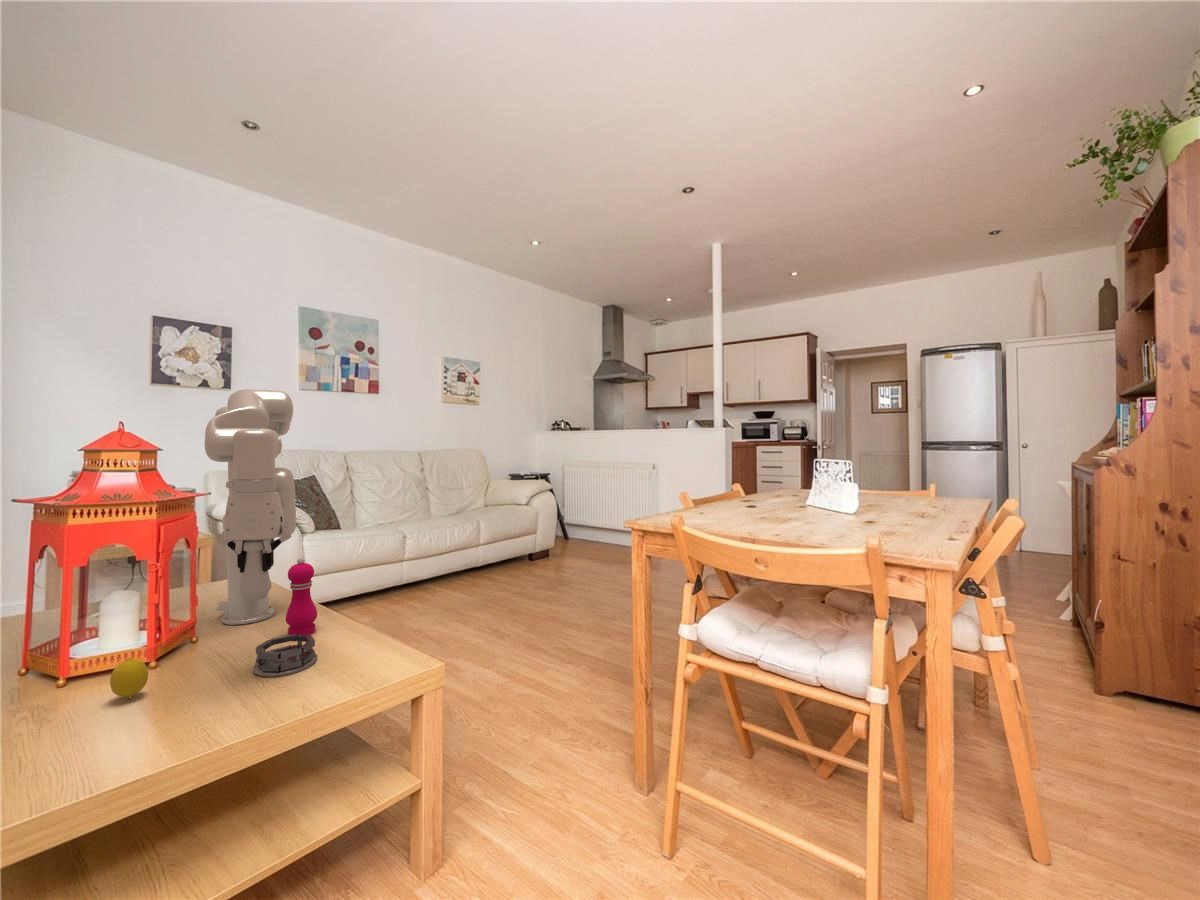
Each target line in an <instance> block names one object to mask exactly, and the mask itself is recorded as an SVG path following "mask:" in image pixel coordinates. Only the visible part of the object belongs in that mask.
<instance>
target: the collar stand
mask: <svg viewBox="0 0 1200 900" xmlns="http://www.w3.org/2000/svg"><path fill="white" fill-rule="evenodd" d="M288 642H296V643H297V644H292V645H285V646H281V647H277V648H273V649H270V650H269V648H271V647H273V646H276V645H281V644H285V643H288ZM303 642H305V643H304V644H303ZM315 646H316V640H315V638H314V637H313V636H312V634H310V635H308V634H292V635H291V634H290V635H288V634H286V635H281V636H278V637H272V638H270V639H267V640H265V641H263V642H262V643H260V644H258V645H257V646H255V654H256V659H255V664H254V665H253V667H252V672H253V674H254V676H257V677H259V678H268V679H269V678H280V677H285V676H292V675H294V674H297V673H300V672H303V671H305V670H307V669H309V668H311V667H313V665H315V664H316V663H317V662H318V655H317V653H316V650H315V649H314V647H315ZM266 650H268V651H266Z"/></svg>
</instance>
